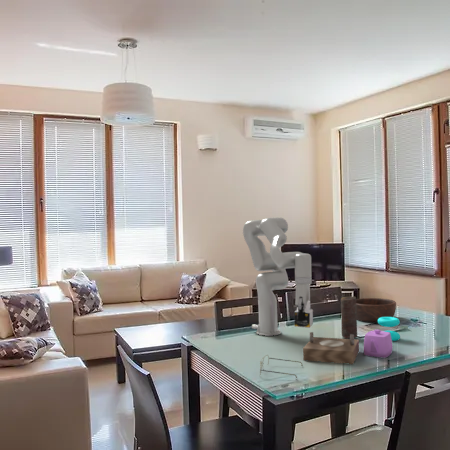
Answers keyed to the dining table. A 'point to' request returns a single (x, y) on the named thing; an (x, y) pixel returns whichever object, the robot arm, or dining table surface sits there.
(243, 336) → the dining table surface
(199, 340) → the dining table surface
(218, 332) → the dining table surface
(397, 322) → the donuts
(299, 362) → the eyeglasses
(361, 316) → the wooden bowl
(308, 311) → the medicine bottle
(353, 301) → the brown rusty cylinder
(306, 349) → the stand
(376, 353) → the teapot
